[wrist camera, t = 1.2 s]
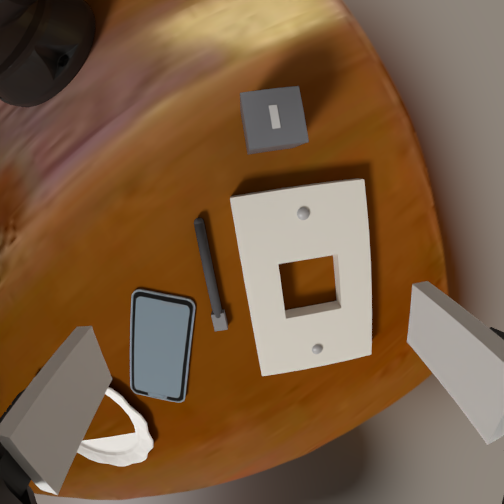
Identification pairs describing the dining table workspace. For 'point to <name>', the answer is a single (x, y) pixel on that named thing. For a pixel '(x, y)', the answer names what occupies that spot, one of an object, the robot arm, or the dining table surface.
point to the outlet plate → (301, 248)
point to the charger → (273, 119)
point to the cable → (210, 277)
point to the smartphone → (160, 344)
